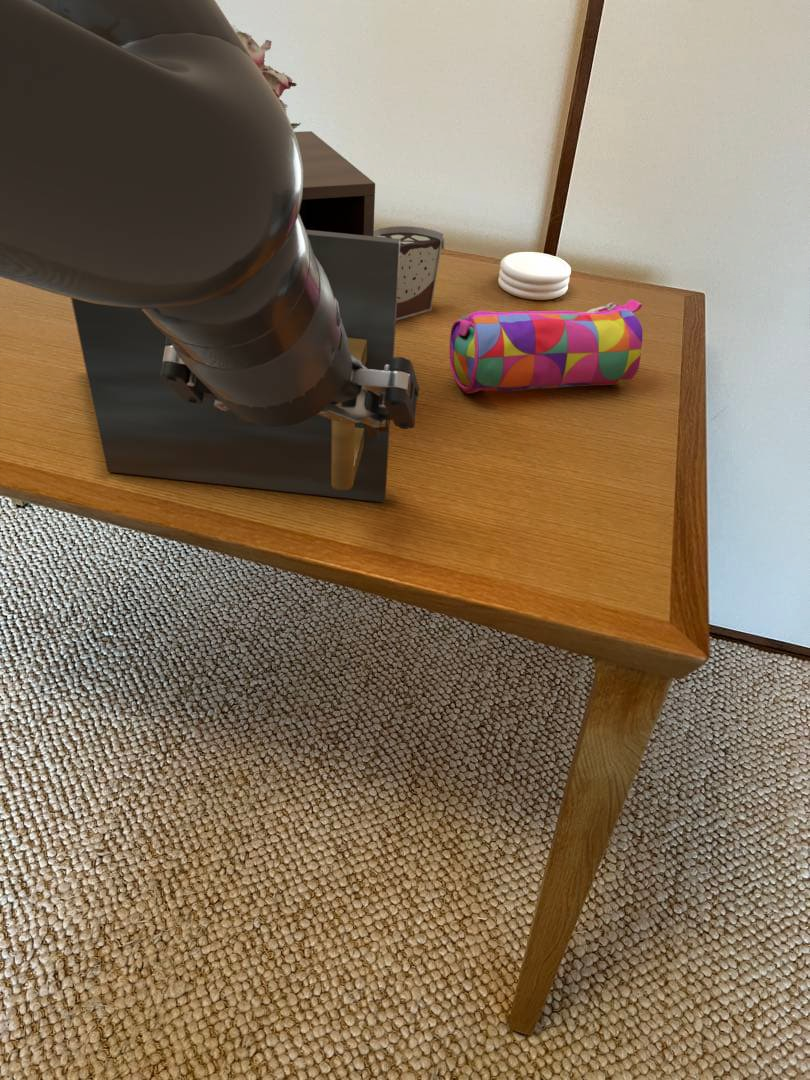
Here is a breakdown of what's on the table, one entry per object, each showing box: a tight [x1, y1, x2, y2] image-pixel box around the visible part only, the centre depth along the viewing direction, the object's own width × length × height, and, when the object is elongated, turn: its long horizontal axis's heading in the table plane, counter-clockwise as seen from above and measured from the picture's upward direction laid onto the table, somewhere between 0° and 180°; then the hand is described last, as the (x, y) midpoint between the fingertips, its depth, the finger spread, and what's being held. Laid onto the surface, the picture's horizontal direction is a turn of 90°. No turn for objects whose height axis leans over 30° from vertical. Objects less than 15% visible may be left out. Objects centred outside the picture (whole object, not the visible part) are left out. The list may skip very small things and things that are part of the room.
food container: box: [373, 225, 446, 322], centre depth 105 cm, size 12×6×10 cm, turn 130°
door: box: [71, 230, 400, 503], centre depth 65 cm, size 8×26×24 cm, turn 84°
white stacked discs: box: [497, 251, 572, 301], centre depth 116 cm, size 10×10×4 cm
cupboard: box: [70, 130, 376, 405], centre depth 80 cm, size 18×26×24 cm
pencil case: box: [449, 298, 643, 394], centre depth 92 cm, size 22×9×9 cm, turn 108°
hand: (313, 415), depth 54 cm, fingers open, 8 cm apart
